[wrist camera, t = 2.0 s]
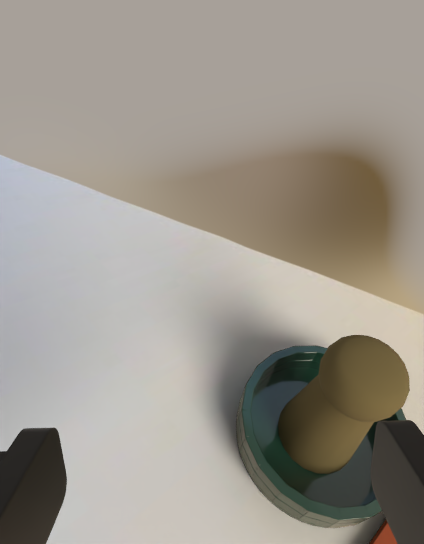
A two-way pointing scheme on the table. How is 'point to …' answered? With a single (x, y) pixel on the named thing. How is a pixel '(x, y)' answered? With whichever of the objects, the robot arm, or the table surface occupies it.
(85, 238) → the table surface
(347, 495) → the dish
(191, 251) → the table surface
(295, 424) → the cork
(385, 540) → the towel
